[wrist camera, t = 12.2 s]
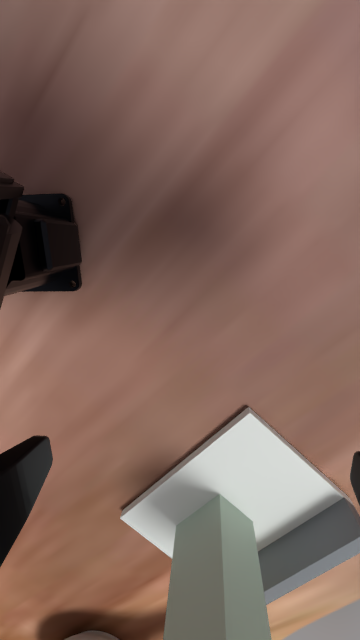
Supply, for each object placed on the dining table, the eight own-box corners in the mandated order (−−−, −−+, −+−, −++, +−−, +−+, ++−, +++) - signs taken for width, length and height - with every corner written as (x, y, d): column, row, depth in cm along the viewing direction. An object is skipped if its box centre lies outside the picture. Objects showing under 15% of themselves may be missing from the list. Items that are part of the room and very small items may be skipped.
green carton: (209, 552, 26) (210, 804, 14) (175, 525, 25) (149, 764, 14) (254, 522, 24) (295, 776, 13) (219, 493, 24) (229, 730, 12)
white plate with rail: (216, 583, 28) (217, 635, 24) (122, 510, 26) (108, 553, 23) (351, 499, 24) (377, 546, 20) (248, 406, 22) (256, 439, 19)
